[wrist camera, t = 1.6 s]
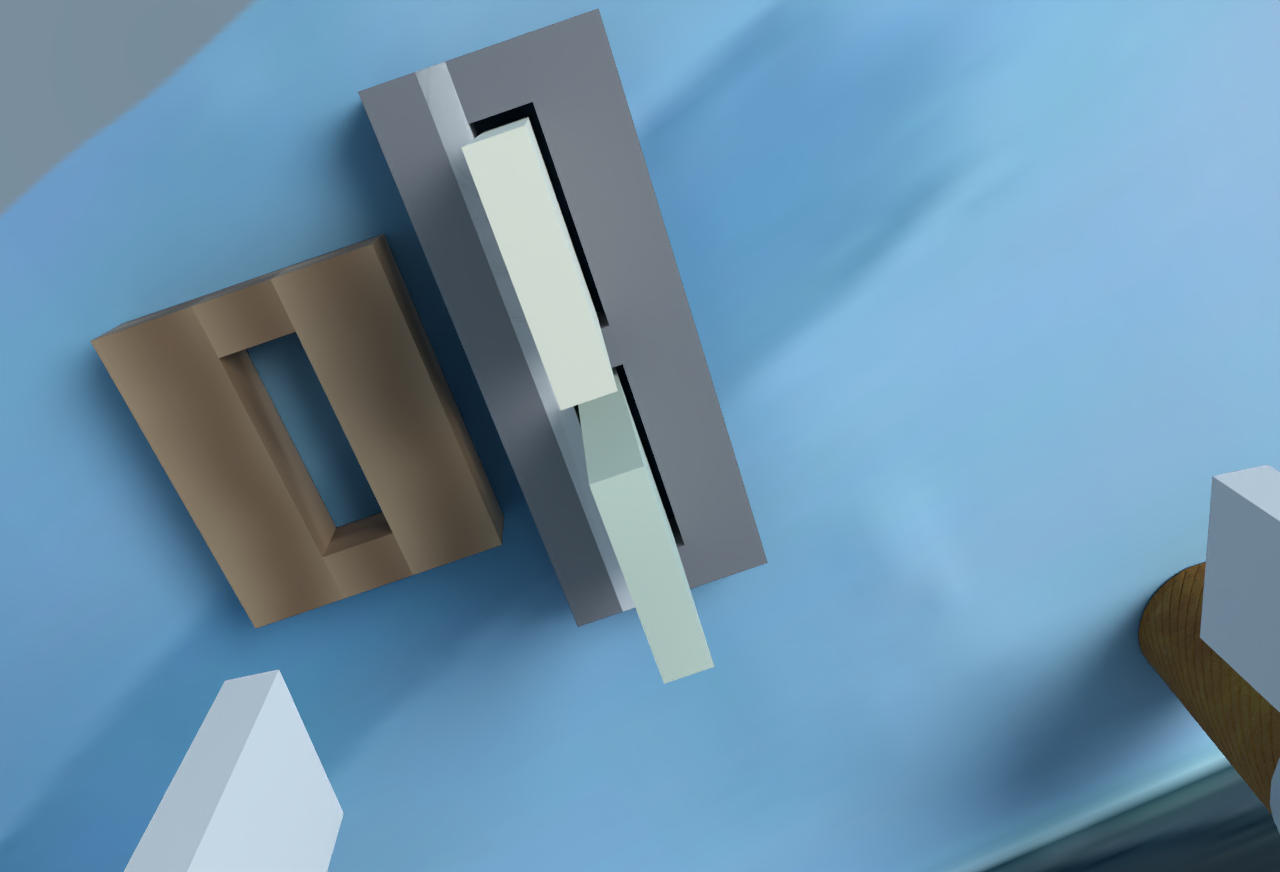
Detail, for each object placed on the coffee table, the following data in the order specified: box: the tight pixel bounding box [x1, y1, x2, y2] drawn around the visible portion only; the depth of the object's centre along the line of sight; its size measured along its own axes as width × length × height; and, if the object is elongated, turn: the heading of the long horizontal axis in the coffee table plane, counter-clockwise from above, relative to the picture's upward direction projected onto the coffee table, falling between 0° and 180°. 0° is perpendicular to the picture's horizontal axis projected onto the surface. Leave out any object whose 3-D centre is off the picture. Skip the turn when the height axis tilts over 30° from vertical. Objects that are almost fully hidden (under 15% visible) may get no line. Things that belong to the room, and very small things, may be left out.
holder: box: [91, 234, 504, 628], centre depth 33 cm, size 10×12×2 cm
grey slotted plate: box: [358, 9, 767, 627], centre depth 33 cm, size 8×21×2 cm, turn 18°
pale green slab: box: [461, 116, 618, 410], centre depth 28 cm, size 2×7×11 cm, turn 18°
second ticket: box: [578, 367, 714, 684], centre depth 31 cm, size 2×7×11 cm, turn 18°
